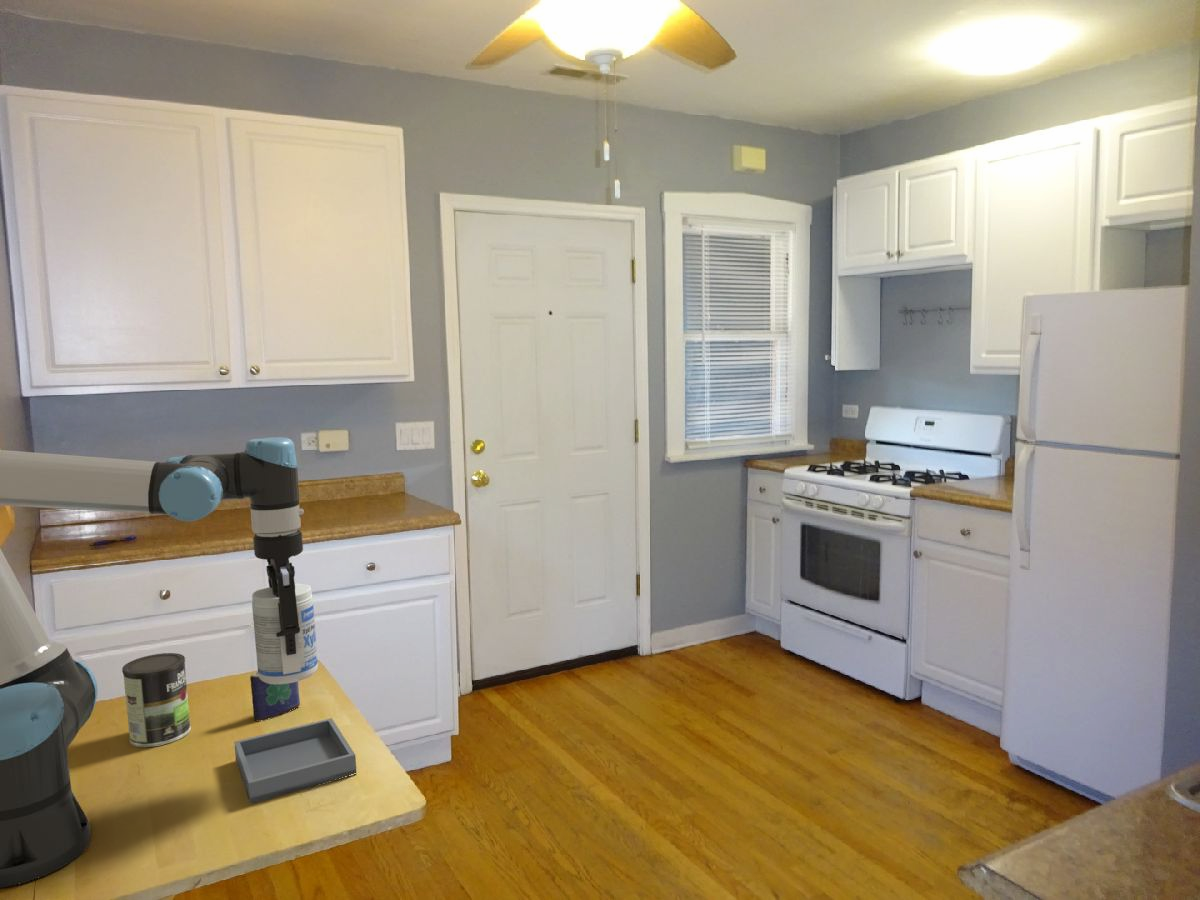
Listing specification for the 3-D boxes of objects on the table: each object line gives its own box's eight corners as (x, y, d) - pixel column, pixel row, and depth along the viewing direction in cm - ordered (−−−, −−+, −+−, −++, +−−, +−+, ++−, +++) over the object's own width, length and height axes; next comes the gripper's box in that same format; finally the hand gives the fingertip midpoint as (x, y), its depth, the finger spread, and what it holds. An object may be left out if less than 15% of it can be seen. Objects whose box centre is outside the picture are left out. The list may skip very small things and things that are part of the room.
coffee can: (201, 722, 161) (195, 651, 159) (173, 747, 151) (166, 672, 149) (148, 722, 161) (142, 652, 159) (117, 748, 151) (109, 673, 149)
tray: (356, 774, 139) (355, 754, 139) (250, 804, 131) (248, 783, 131) (333, 736, 154) (331, 718, 153) (235, 760, 145) (234, 741, 145)
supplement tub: (321, 679, 138) (315, 593, 136) (259, 691, 134) (252, 602, 132) (315, 660, 147) (309, 579, 145) (256, 670, 143) (250, 587, 141)
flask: (296, 703, 168) (293, 652, 167) (303, 707, 166) (299, 656, 165) (251, 719, 162) (247, 666, 160) (257, 723, 160) (253, 670, 158)
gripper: (312, 541, 129) (322, 679, 132) (291, 517, 149) (301, 638, 151) (260, 548, 126) (271, 689, 128) (246, 522, 145) (256, 645, 148)
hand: (287, 661), depth 140 cm, fingers closed on supplement tub, 10 cm apart
